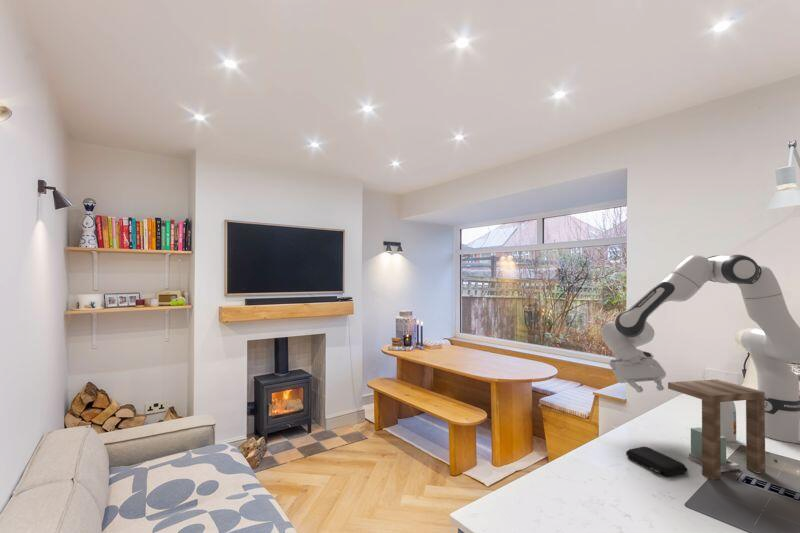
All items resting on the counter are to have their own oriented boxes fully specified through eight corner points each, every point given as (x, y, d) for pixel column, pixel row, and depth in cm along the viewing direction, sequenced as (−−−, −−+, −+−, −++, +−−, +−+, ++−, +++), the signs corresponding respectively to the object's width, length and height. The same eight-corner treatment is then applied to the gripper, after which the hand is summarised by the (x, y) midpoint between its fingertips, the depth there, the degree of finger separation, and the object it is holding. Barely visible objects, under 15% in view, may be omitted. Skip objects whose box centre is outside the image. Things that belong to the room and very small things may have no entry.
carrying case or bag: (620, 457, 123) (665, 481, 109) (620, 448, 123) (664, 470, 109) (644, 453, 127) (691, 475, 113) (644, 443, 127) (691, 465, 113)
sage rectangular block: (700, 454, 125) (700, 427, 125) (726, 467, 117) (726, 437, 118) (690, 456, 124) (690, 428, 124) (716, 468, 116) (716, 438, 117)
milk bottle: (730, 444, 133) (729, 386, 134) (704, 436, 140) (704, 381, 141) (740, 440, 137) (740, 384, 137) (714, 432, 144) (714, 379, 144)
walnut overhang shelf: (716, 451, 128) (716, 379, 128) (765, 472, 114) (764, 391, 115) (668, 457, 123) (668, 382, 124) (712, 479, 110) (712, 395, 110)
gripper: (611, 355, 147) (632, 388, 137) (655, 353, 151) (678, 384, 141) (603, 364, 151) (623, 397, 141) (645, 361, 155) (668, 393, 146)
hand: (651, 390), depth 141 cm, fingers open, 8 cm apart
